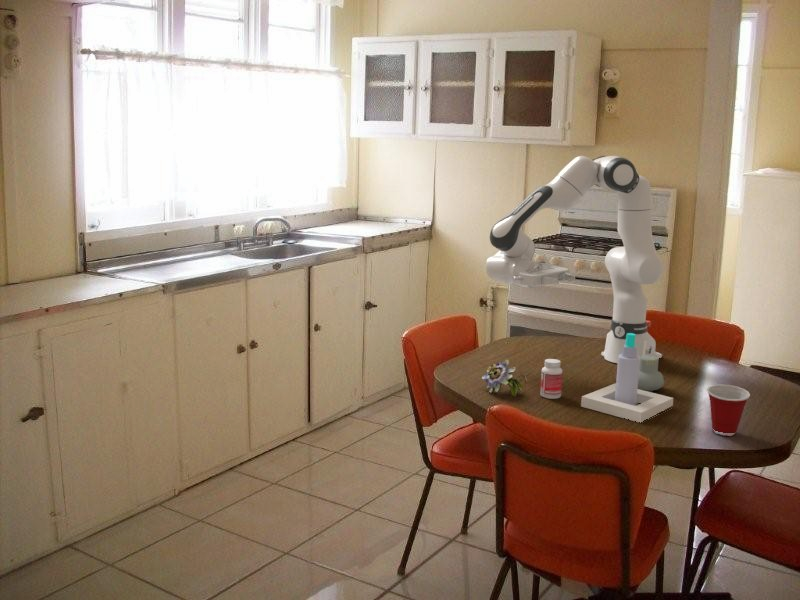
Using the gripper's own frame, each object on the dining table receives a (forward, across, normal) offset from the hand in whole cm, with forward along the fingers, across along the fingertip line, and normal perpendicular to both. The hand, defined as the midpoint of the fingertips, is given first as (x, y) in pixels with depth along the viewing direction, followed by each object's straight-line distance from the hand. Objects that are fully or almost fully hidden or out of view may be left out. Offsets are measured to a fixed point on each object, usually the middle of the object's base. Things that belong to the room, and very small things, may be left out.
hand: (565, 280), depth 274 cm
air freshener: (+25, +11, +32) cm, 42 cm away
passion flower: (-4, -25, +32) cm, 41 cm away
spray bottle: (+30, -11, +32) cm, 45 cm away
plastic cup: (+58, -10, +32) cm, 68 cm away
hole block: (+30, -10, +32) cm, 45 cm away
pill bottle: (+8, -18, +32) cm, 38 cm away
